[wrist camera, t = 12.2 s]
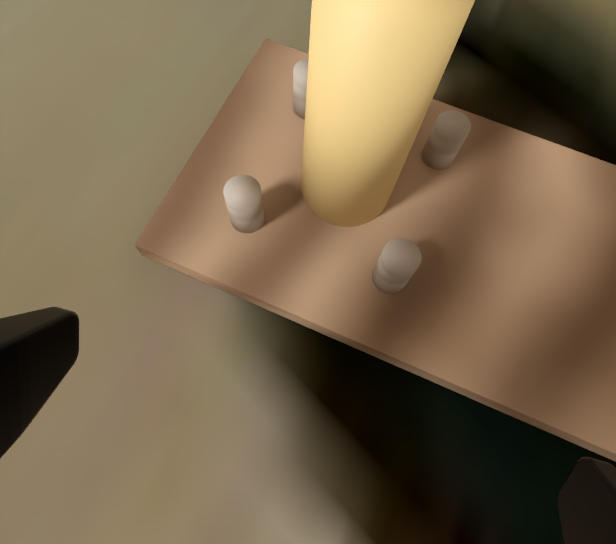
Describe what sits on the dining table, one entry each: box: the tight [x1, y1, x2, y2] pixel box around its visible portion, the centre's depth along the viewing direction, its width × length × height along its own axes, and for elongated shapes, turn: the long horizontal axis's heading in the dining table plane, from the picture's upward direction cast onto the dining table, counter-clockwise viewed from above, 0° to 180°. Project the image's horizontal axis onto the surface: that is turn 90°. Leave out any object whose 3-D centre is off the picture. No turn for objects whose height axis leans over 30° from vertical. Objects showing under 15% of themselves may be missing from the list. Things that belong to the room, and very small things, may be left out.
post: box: [301, 0, 475, 227], centre depth 17 cm, size 4×4×11 cm
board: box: [135, 39, 616, 462], centre depth 21 cm, size 26×14×4 cm, turn 66°
